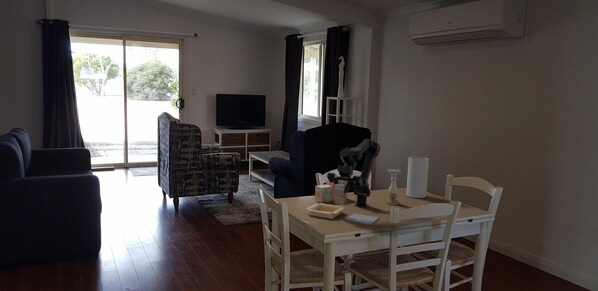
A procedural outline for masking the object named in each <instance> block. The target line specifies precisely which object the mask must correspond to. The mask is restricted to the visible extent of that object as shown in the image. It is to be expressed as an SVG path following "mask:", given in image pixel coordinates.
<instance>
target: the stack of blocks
mask: <svg viewBox="0 0 598 291" xmlns="http://www.w3.org/2000/svg"><path fill="white" fill-rule="evenodd" d="M325 182H326V183H325V184H320V185H315V191H314V202H318V203H319V204H320V203H322V204H324V203H329V202H334V191H335V189H334V183H332V182H329V180H328V179H326V181H325ZM338 182H339V183H341V184H347V183H348V181H341V180H339V181H338Z"/></svg>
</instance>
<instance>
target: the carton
mask: <svg viewBox="0 0 598 291" xmlns="http://www.w3.org/2000/svg"><path fill="white" fill-rule="evenodd" d="M305 210H307V212H308V216H312V217H320V218H325V219H334V218H335V217H337V216H338V215H340V214H342V211H343V210H345V207H343V206H341V205H336V204H329V203H327V204H326V203H320V202H319V203H314V204H312V205H310V206H309V207H306V208H305Z"/></svg>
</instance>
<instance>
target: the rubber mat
mask: <svg viewBox="0 0 598 291" xmlns="http://www.w3.org/2000/svg"><path fill="white" fill-rule="evenodd" d="M379 219H380V217H378V216H372V215H365V214H359V213H352V214H351V215H349V216H348V217H346V218H344V221H348V222H349V221H350V222H354V223H357V224H362V225H368V226H371V225H373V224H374V223H376V222H377V221H378V220H379Z"/></svg>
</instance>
